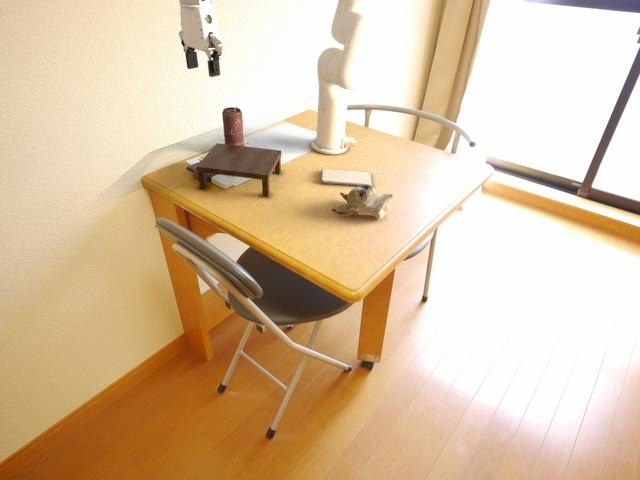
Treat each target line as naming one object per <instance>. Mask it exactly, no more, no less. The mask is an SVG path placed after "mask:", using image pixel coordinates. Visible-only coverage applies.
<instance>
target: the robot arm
mask: <svg viewBox="0 0 640 480" xmlns="http://www.w3.org/2000/svg"><path fill="white" fill-rule="evenodd" d="M178 2H179V6H180V7H179V11H180V13H179V14H180V27H181V28H180V29H181V30H179V32H178V36H179V39H180V41H181V42H180V44H181V46H182V47H183V53H185V61H186V68H187V69H188V70H193V69H198V68H199V61H198V54H197V53H198V52H197V51H196V50H198V51H201V52H204V53H205V54H206V56H207V58H208V60H207V69H208V77H210V78H213V77H219V76H221V67H220V60H221V56H222V54H223V48H224V47H223V46H224V44H223V42H222V41H221V40H220V36H219V28H218V23H217V22H218V21H217V17H216V13H215V9H214V6H212V0H179V1H178ZM369 2H370V0H338V1H337V5H336V9H335V12H334V16H333V20H332V23H331V28H330V32H331V36H332V39H334V41H335V42H337V43H338V44H340V45H342V46H343V49H341V48H338V47H328V48H325V49H324V50H323V51H322V52H321V53H320V55H319V57H318V58H317V64H316V73H317V80H318V81H317V82H318V98H317V99H318V100H317V116H316V117H317V118H316V138H314V139H313V140H311V148H312V149H313V150H314V151H315V152H318V153H321V154H325V155H338V154H342V153H344V152H347V150H348V149H349V148H348V147H349V146H350V147H357V144H358V143H357V142H358V140H355V138H354V137H348V136H347V134H346V132H345V130H346V123H347V122H346V120H347V112H348V111H347V110H348V102H349V91H353V90H355V89H357V88H358V87H359V86H360V85H361V84H362V82H363V81H364V78H365V76H366V73H367V70H368V68H369V65H370V62H371V58H372V55H373V53H374V50H375V47H376V44H377V39H378V26H377V23H376V21H375V20H374V18H373V17H372V16H370V15H369V14H367V11H368V6H369ZM211 52H212V53H211Z"/></svg>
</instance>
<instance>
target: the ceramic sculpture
mask: <svg viewBox="0 0 640 480" xmlns="http://www.w3.org/2000/svg"><path fill="white" fill-rule="evenodd" d="M339 195H340V196H341V197H342V198H343V199H344V200H345V201H346V203H345V204H341V205H339V206H337V207H335V208H331V209H330V210H331V211H332V212H334V213H336V214H338V215H339V216H345V217H349V216H355V215H357V216H373V217H374V218H376V220H378V221H379V220H381V219H382V218H384V217H385V216H386V214H387V212H388V211H389V210H390V209H391V205H392V202H393V200H394V194H391V193H378V192H377V191H376V189H375V188H374V187H372V186H368V185H366V186H356V187H354V188H352V189H351V190H350V191H349V192H348V193H345V192H339Z"/></svg>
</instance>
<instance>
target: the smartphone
mask: <svg viewBox="0 0 640 480" xmlns="http://www.w3.org/2000/svg"><path fill="white" fill-rule="evenodd" d="M371 175H372V174H371V172H369V171H363V170H362V171H361V170H348V169H339V168H338V169H336V168H322V169H321V179H320V180H321V183H323V184H332V185H346V186H356V187H365V186H366V185H368V186H371V187H372V186H373V183H372V176H371Z"/></svg>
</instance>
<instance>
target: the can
mask: <svg viewBox="0 0 640 480" xmlns="http://www.w3.org/2000/svg"><path fill="white" fill-rule="evenodd" d="M221 114H222V115H221V116H222V127H223V137H224V144H228V145H237V146H245V138H244V122H243V121H244V120H243V112H242V110H241V109H240V108H239V107H237V106H235V107H233V106H231V107H230V106H229V107H225V108H223V110H222V112H221Z"/></svg>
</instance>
